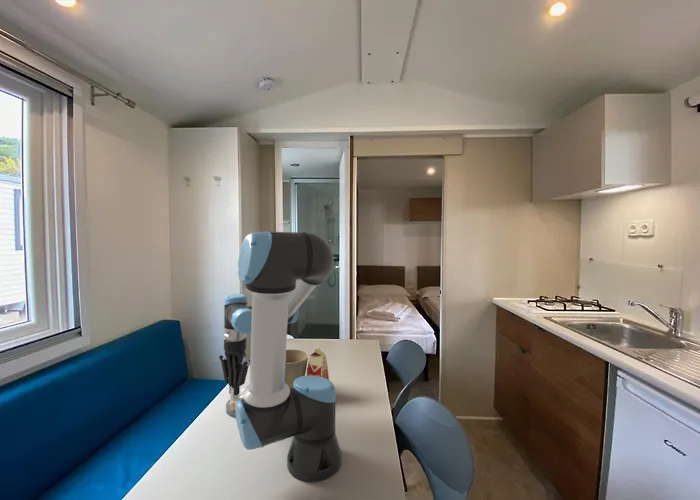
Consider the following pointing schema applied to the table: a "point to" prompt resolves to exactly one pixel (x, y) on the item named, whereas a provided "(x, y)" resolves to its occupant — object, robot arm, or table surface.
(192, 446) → the table surface
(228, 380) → the robot arm
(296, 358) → the plant pot
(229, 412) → the dial base
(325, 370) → the milk carton
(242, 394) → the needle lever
